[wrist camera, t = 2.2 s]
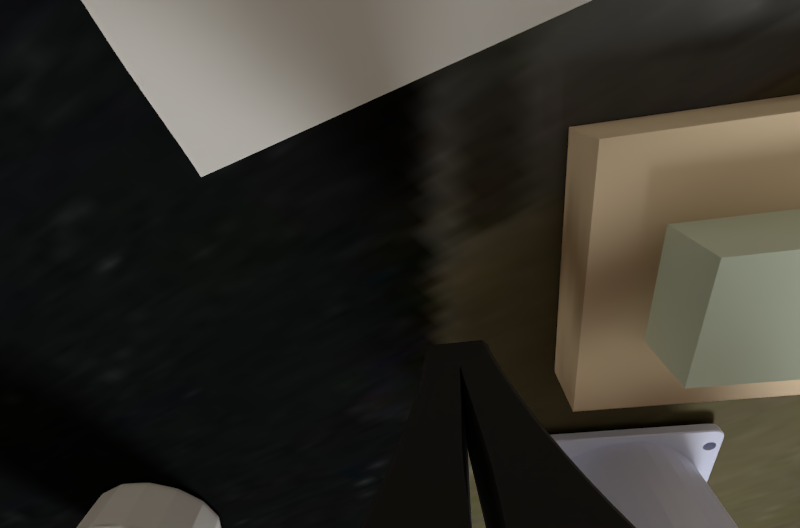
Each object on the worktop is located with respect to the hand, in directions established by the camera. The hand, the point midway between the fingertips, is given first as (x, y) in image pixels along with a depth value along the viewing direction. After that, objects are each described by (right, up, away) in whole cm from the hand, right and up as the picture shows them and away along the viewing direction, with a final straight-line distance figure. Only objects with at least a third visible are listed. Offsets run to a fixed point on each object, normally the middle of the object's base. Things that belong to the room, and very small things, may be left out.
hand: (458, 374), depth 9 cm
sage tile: (+8, +2, +2) cm, 9 cm away
